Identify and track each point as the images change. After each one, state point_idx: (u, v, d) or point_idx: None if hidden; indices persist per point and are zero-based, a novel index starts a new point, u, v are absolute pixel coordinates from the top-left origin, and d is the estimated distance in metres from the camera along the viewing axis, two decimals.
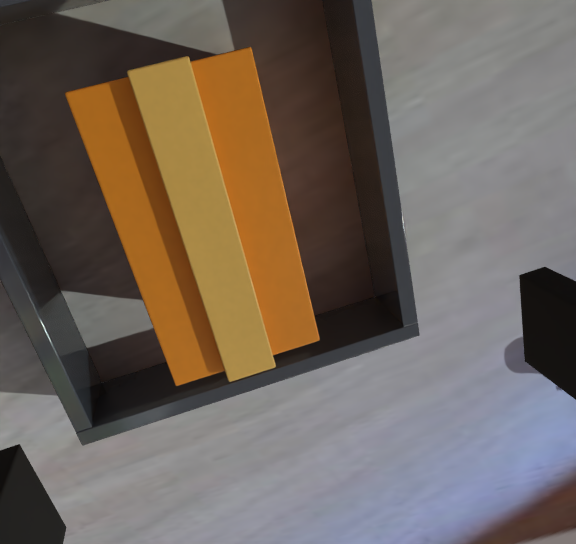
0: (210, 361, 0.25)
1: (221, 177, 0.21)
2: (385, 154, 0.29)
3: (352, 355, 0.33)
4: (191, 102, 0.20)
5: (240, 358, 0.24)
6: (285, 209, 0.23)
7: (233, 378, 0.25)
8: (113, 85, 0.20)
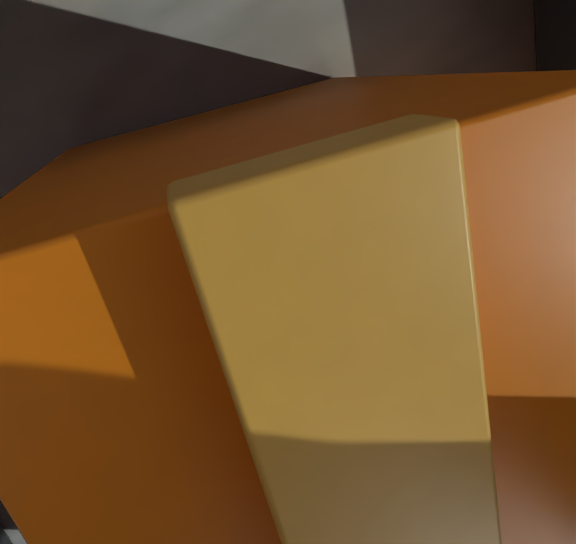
0: None
1: (498, 538, 0.06)
2: None
3: None
4: (443, 312, 0.05)
5: None
6: None
7: None
8: (100, 244, 0.05)
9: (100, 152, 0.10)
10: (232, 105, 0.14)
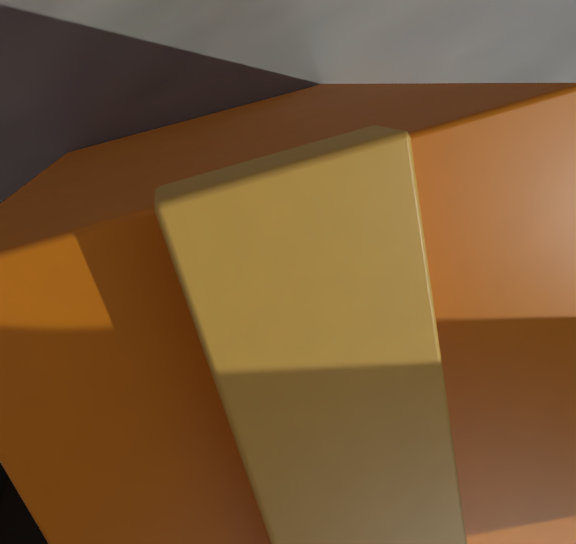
0: None
1: (459, 509, 0.06)
2: None
3: None
4: (401, 300, 0.05)
5: None
6: None
7: None
8: (96, 241, 0.05)
9: (97, 156, 0.11)
10: (224, 111, 0.14)
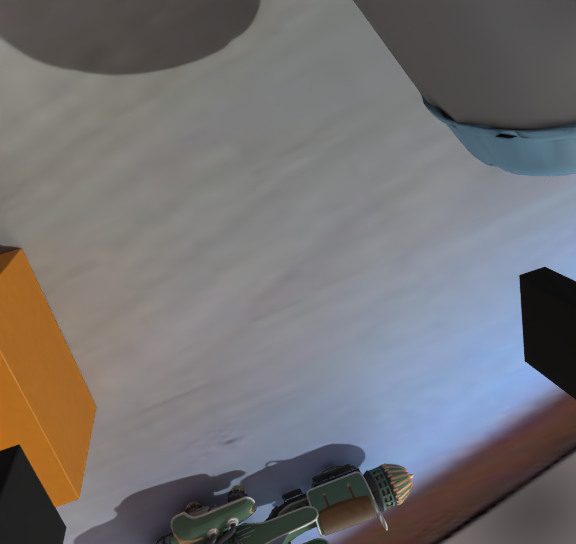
0: None
1: None
2: None
3: None
4: None
5: None
6: (28, 409, 0.29)
7: None
8: None
9: None
10: None
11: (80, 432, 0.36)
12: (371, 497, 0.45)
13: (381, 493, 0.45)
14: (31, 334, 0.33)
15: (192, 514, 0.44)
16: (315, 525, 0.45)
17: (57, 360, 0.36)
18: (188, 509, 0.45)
